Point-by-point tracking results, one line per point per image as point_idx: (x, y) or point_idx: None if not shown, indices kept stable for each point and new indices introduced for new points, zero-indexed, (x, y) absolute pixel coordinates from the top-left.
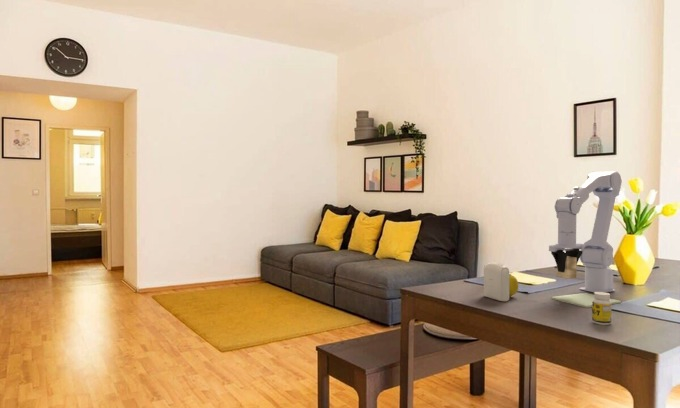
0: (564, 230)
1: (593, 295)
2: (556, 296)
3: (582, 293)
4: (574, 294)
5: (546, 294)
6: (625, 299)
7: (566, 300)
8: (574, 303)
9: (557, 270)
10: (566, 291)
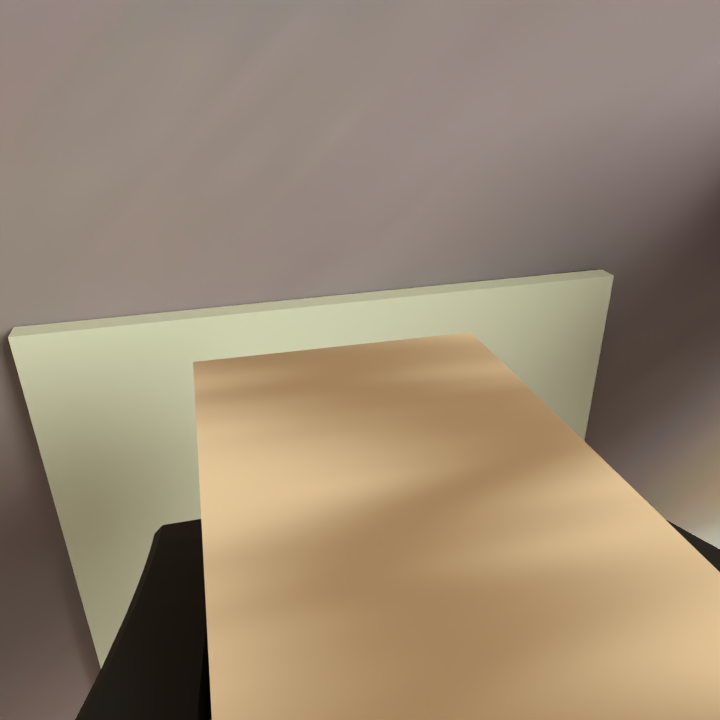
0: None
1: (562, 408)
2: (106, 332)
3: (556, 296)
4: (426, 311)
5: (140, 57)
6: (689, 523)
7: (76, 531)
8: (89, 618)
9: (203, 466)
10: (585, 18)
